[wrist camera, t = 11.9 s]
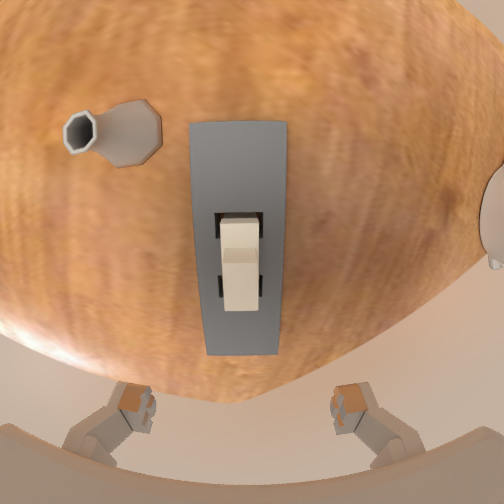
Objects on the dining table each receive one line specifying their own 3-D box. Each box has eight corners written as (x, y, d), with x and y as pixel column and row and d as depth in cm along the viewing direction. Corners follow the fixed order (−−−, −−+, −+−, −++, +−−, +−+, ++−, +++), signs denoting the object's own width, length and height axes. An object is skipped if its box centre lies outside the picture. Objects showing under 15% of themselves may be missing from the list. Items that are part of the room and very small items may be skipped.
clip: (255, 205, 27) (261, 235, 19) (255, 277, 30) (259, 330, 22) (225, 205, 27) (216, 236, 19) (228, 277, 30) (222, 331, 22)
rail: (280, 124, 24) (286, 121, 21) (274, 333, 33) (277, 354, 30) (197, 126, 24) (189, 123, 21) (210, 333, 33) (207, 355, 30)
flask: (174, 149, 25) (137, 152, 16) (115, 179, 26) (61, 199, 17) (150, 87, 22) (105, 64, 13) (93, 121, 23) (34, 118, 14)
